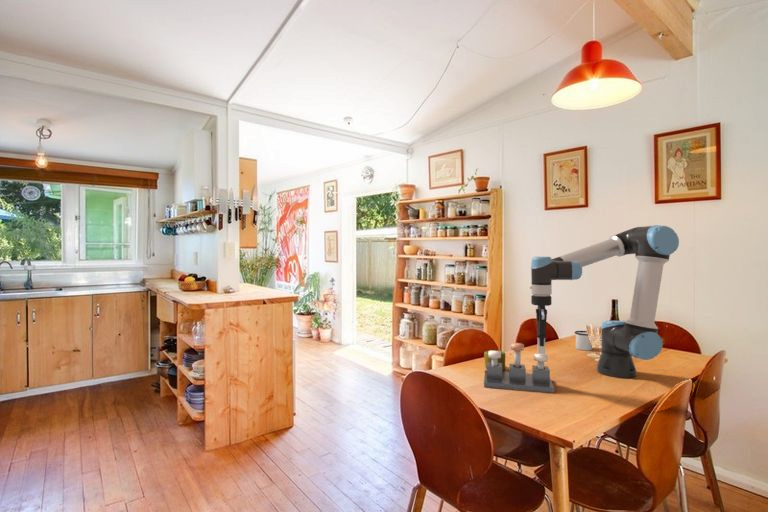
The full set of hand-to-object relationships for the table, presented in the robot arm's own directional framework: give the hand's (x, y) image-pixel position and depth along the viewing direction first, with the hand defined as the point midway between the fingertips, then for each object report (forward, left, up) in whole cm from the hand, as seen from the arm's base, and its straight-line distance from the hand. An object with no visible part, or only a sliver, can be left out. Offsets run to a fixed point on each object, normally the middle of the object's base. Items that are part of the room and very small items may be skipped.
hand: (541, 353), depth 163 cm
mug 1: (+18, -19, -13) cm, 29 cm away
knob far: (+18, 0, -11) cm, 21 cm away
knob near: (0, 0, -11) cm, 11 cm away
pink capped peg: (+9, 0, -7) cm, 11 cm away
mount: (+9, 0, -13) cm, 16 cm away
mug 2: (-30, -69, -13) cm, 76 cm away
